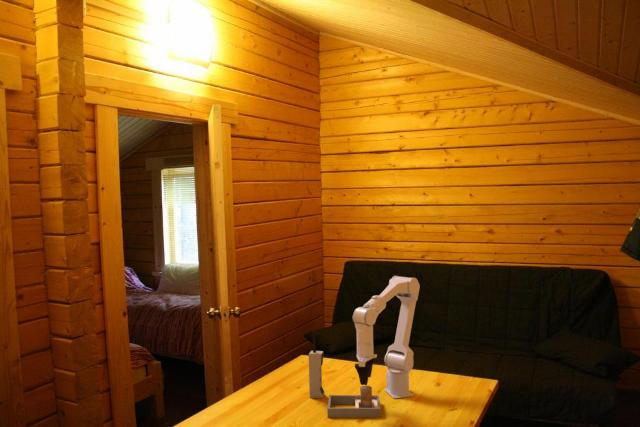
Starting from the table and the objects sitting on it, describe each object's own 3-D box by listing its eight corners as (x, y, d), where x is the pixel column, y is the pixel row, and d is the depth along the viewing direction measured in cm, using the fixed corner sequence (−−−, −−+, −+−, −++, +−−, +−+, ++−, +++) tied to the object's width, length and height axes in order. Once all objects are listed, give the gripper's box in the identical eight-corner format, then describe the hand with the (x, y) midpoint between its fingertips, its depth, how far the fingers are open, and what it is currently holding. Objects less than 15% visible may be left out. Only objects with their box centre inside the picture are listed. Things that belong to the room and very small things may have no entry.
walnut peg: (358, 409, 182) (358, 387, 182) (367, 407, 184) (367, 384, 184) (365, 413, 179) (364, 390, 178) (374, 410, 181) (374, 388, 180)
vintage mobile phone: (322, 398, 193) (321, 331, 192) (309, 397, 194) (307, 331, 193) (324, 394, 197) (323, 329, 196) (311, 394, 198) (310, 328, 197)
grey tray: (327, 417, 176) (327, 408, 176) (329, 403, 188) (329, 395, 188) (380, 417, 175) (380, 408, 175) (379, 403, 187) (378, 395, 187)
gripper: (373, 348, 173) (374, 389, 173) (379, 337, 187) (380, 374, 187) (352, 347, 175) (353, 387, 175) (360, 336, 189) (360, 373, 189)
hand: (365, 380), depth 181 cm, fingers open, 7 cm apart
